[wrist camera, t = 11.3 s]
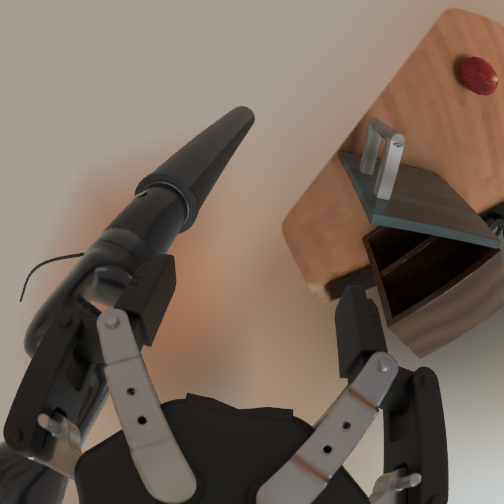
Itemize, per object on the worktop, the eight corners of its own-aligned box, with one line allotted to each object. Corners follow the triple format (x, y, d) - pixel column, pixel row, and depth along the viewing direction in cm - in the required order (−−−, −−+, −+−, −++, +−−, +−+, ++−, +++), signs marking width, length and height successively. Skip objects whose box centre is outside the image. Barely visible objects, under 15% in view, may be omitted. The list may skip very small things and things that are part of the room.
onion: (467, 98, 27) (497, 108, 20) (445, 70, 25) (475, 74, 19) (484, 77, 23) (515, 85, 17) (463, 49, 22) (493, 51, 16)
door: (346, 106, 32) (392, 138, 17) (447, 135, 31) (523, 188, 16) (338, 157, 37) (370, 224, 22) (435, 179, 36) (497, 249, 21)
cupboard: (361, 238, 45) (387, 327, 30) (437, 179, 36) (501, 250, 21) (394, 276, 49) (419, 359, 34) (462, 227, 40) (511, 300, 25)
